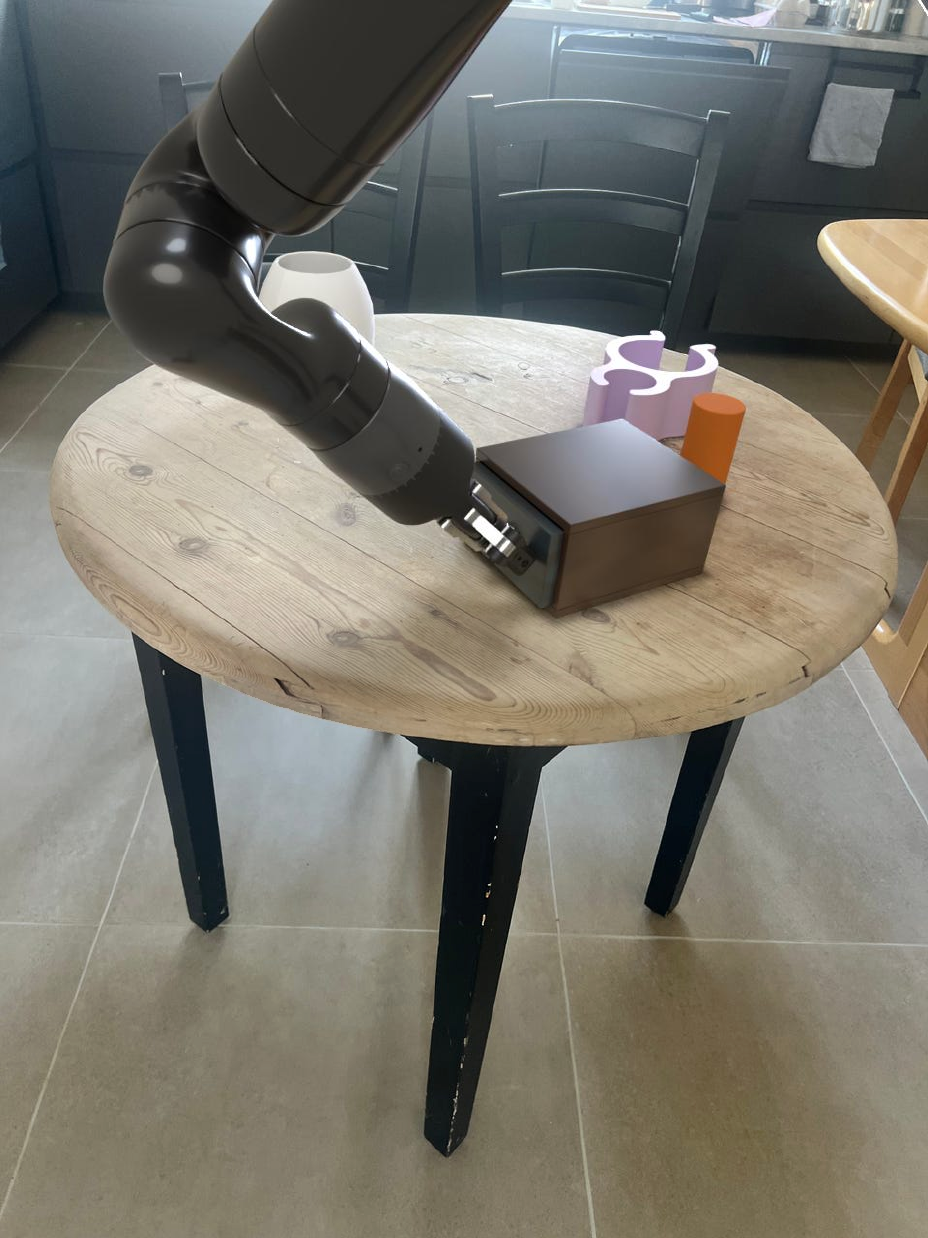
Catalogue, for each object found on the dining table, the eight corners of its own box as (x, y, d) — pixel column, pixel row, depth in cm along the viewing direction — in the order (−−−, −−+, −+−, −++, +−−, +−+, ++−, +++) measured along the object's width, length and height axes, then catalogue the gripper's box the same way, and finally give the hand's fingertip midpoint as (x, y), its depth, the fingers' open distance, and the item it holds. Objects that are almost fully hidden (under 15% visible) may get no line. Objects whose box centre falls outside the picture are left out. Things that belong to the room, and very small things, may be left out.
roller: (693, 514, 87) (718, 417, 81) (661, 492, 90) (682, 396, 84) (730, 504, 89) (757, 409, 83) (697, 483, 92) (720, 389, 86)
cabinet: (555, 618, 72) (570, 525, 66) (468, 535, 81) (475, 447, 76) (702, 573, 78) (726, 485, 73) (607, 501, 88) (622, 418, 82)
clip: (659, 468, 94) (673, 405, 90) (552, 434, 98) (561, 373, 94) (721, 407, 108) (736, 350, 104) (625, 380, 113) (635, 325, 108)
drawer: (527, 613, 70) (537, 538, 66) (449, 535, 79) (453, 465, 75) (680, 566, 77) (698, 496, 73) (593, 500, 86) (605, 434, 82)
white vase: (397, 381, 107) (400, 263, 99) (320, 415, 98) (317, 289, 90) (315, 351, 113) (311, 238, 105) (235, 380, 104) (225, 259, 96)
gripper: (483, 439, 52) (610, 569, 65) (380, 358, 61) (510, 487, 74) (397, 536, 53) (539, 646, 66) (308, 442, 62) (449, 555, 75)
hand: (523, 562), depth 70 cm, fingers closed
